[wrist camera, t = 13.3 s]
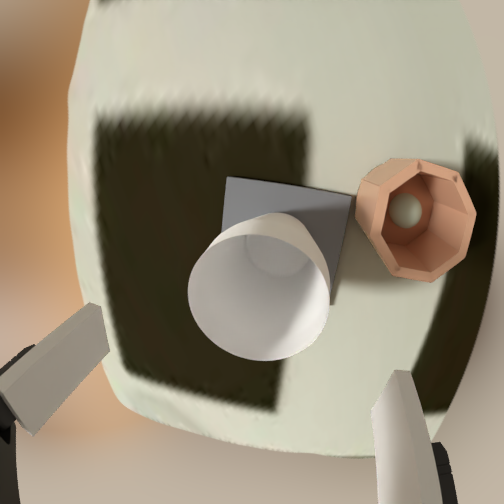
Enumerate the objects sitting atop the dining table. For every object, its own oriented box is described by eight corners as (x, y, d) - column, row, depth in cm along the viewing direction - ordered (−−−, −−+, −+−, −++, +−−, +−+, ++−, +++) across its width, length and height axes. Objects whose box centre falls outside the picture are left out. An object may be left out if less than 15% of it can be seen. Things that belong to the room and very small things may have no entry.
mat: (229, 176, 27) (226, 176, 26) (350, 195, 25) (351, 196, 25) (219, 285, 31) (217, 288, 31) (325, 305, 30) (326, 308, 29)
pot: (363, 152, 24) (385, 149, 16) (441, 173, 23) (482, 181, 15) (347, 239, 27) (361, 270, 19) (423, 255, 26) (455, 286, 18)
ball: (388, 187, 24) (398, 191, 21) (417, 195, 23) (430, 200, 20) (382, 220, 25) (391, 228, 22) (410, 226, 24) (422, 235, 21)
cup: (340, 257, 27) (359, 324, 16) (267, 301, 30) (243, 378, 19) (288, 181, 25) (273, 197, 14) (215, 233, 29) (159, 282, 17)
